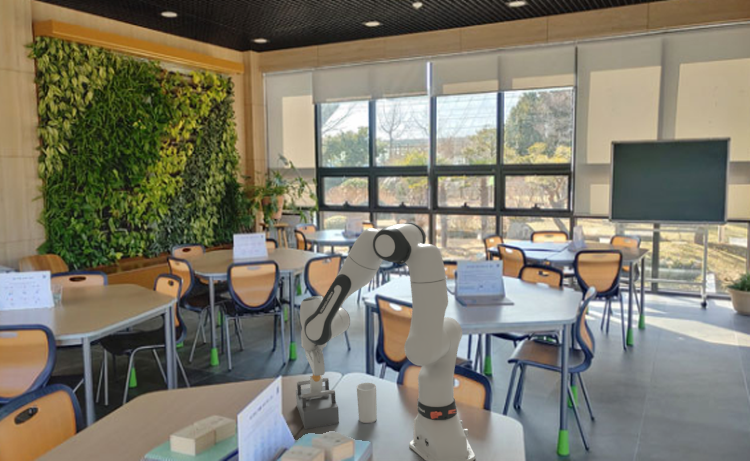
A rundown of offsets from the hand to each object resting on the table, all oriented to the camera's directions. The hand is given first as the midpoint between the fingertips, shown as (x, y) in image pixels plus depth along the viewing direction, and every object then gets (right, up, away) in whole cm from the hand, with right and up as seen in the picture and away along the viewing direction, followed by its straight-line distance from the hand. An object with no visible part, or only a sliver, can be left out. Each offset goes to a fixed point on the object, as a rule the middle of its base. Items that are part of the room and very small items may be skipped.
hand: (315, 378), depth 202 cm
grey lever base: (0, -14, +3) cm, 14 cm away
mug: (+19, -13, -2) cm, 23 cm away
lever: (0, -7, +2) cm, 7 cm away
